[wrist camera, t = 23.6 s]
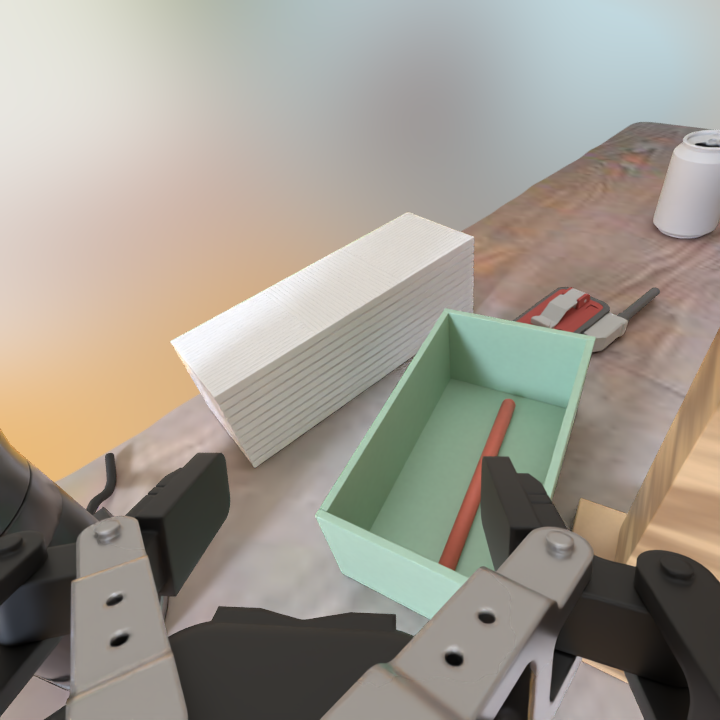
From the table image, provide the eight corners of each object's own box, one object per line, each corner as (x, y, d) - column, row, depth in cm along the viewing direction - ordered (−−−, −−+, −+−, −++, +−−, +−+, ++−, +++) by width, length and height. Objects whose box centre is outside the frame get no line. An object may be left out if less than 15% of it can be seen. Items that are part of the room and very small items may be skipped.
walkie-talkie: (554, 395, 46) (663, 303, 53) (561, 364, 43) (675, 270, 50) (486, 354, 51) (593, 276, 58) (488, 324, 48) (599, 245, 55)
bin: (507, 660, 30) (518, 612, 24) (341, 573, 36) (314, 515, 30) (577, 411, 44) (596, 336, 37) (447, 377, 50) (444, 307, 43)
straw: (429, 597, 34) (445, 604, 33) (424, 589, 33) (441, 596, 32) (504, 404, 45) (518, 405, 45) (502, 394, 45) (516, 396, 44)
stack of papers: (414, 283, 64) (407, 211, 56) (473, 313, 57) (474, 236, 50) (211, 410, 52) (169, 341, 45) (254, 468, 45) (213, 397, 38)
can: (640, 231, 64) (666, 143, 56) (666, 210, 67) (694, 123, 59) (700, 247, 59) (737, 152, 51) (724, 223, 62) (763, 130, 54)
